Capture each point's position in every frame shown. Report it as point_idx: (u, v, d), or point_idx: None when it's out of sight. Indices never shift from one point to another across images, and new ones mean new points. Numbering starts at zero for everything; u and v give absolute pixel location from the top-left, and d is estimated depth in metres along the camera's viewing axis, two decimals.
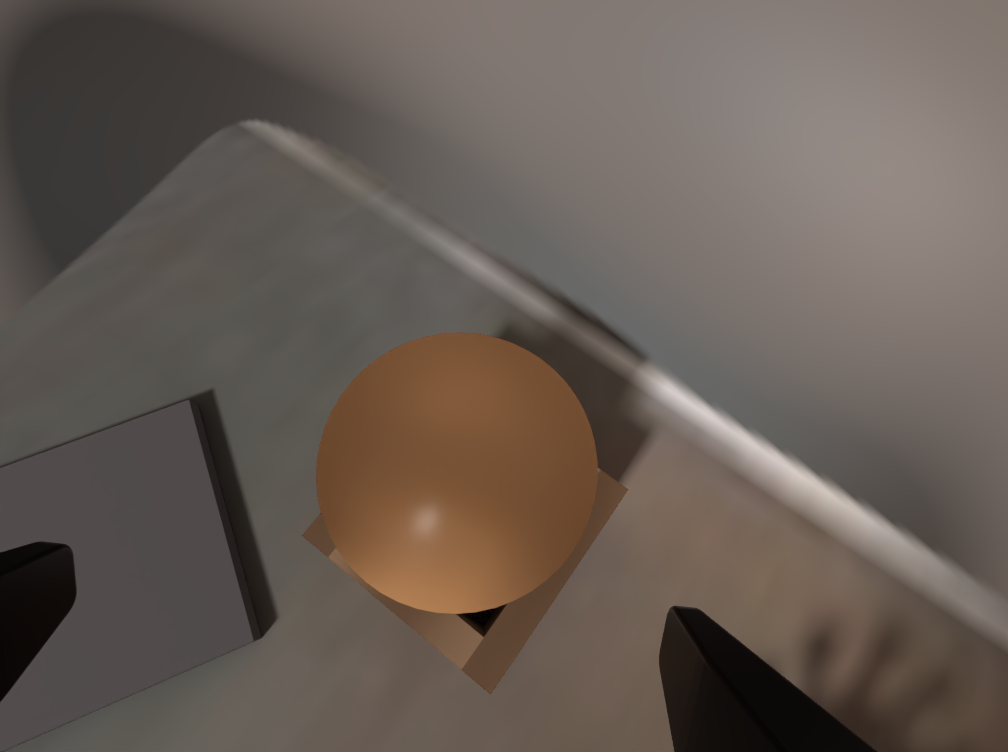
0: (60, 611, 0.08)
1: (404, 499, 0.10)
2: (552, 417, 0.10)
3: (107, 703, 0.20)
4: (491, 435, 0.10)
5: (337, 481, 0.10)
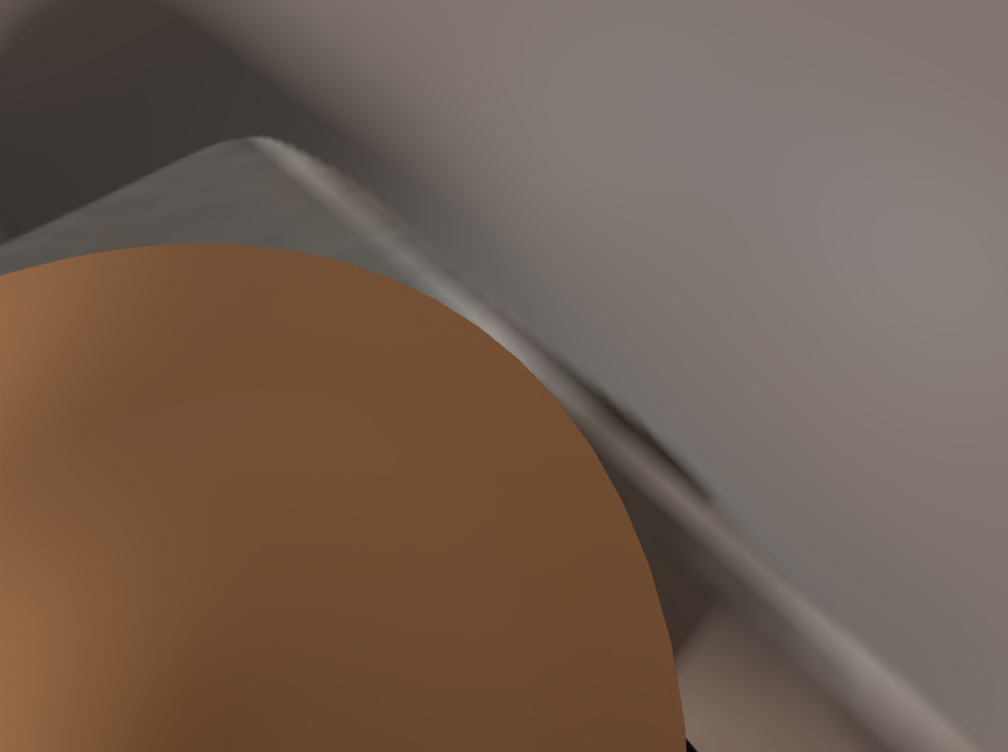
0: None
1: None
2: (522, 573, 0.03)
3: None
4: (261, 604, 0.03)
5: None
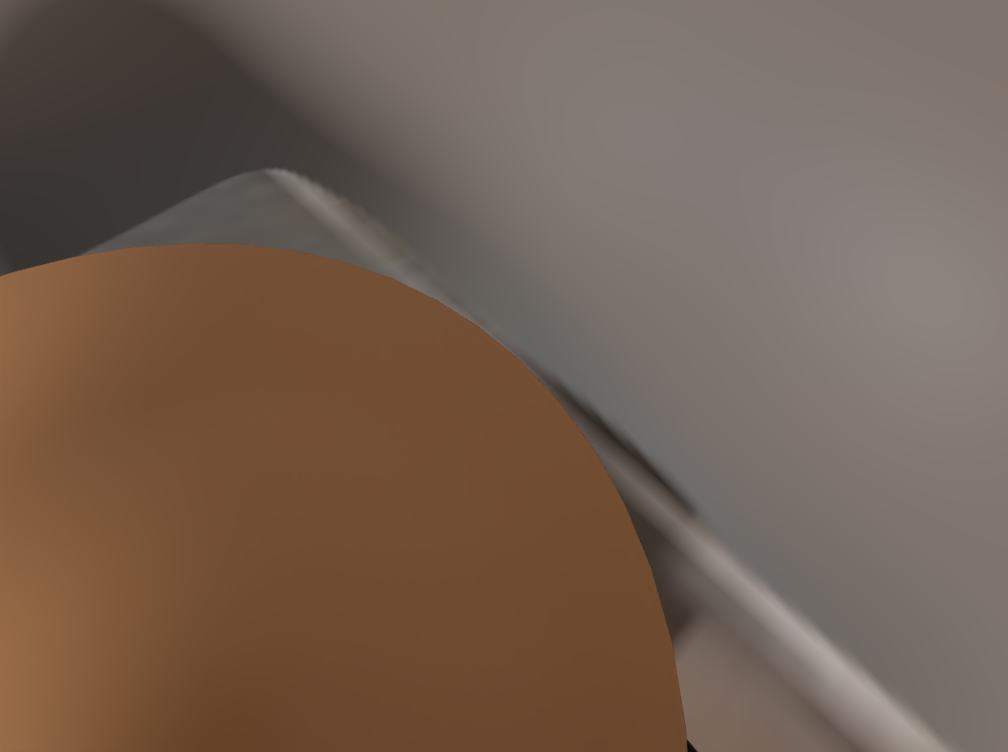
0: None
1: None
2: (523, 572, 0.03)
3: None
4: (262, 604, 0.03)
5: None
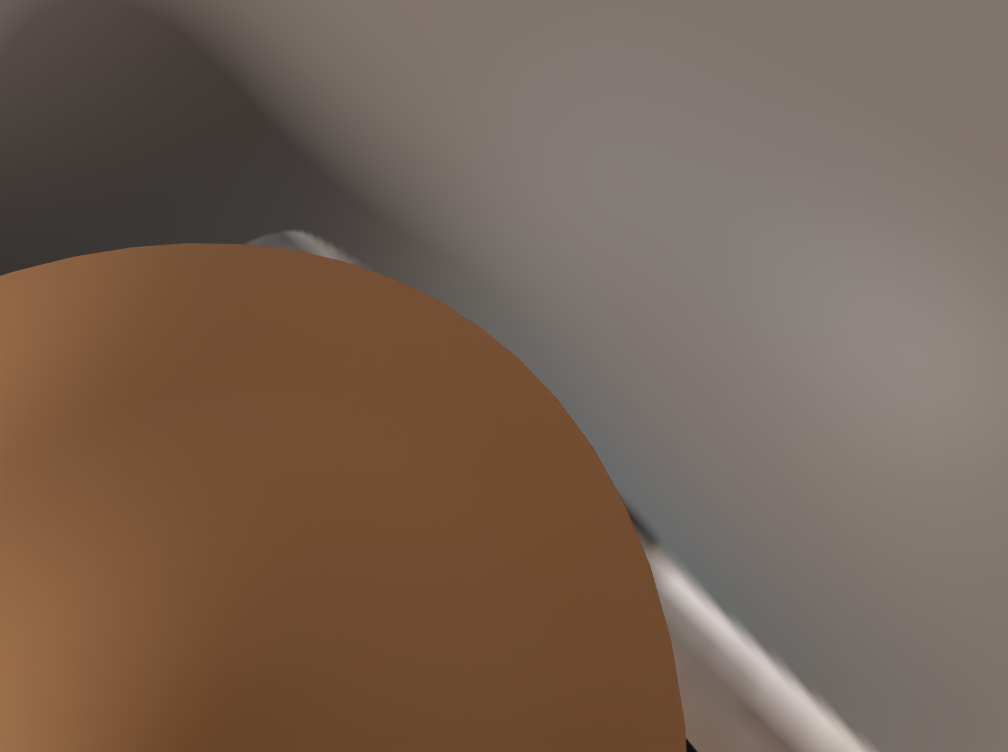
0: None
1: None
2: (522, 572, 0.03)
3: None
4: (262, 603, 0.03)
5: None
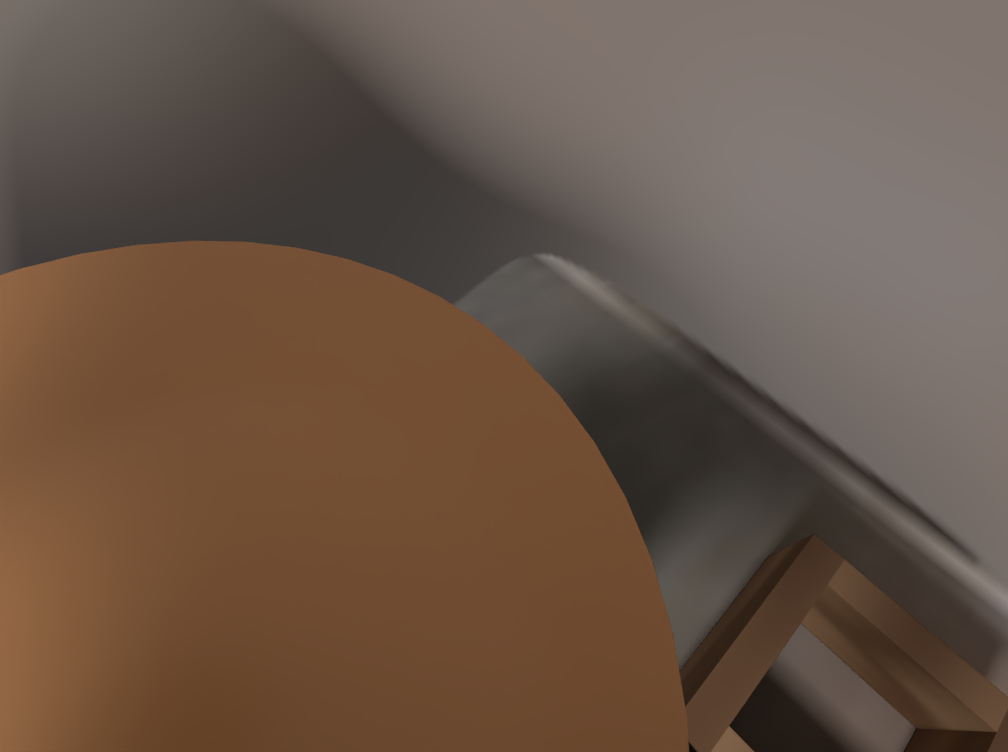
0: None
1: None
2: (525, 566, 0.03)
3: None
4: (268, 596, 0.03)
5: None
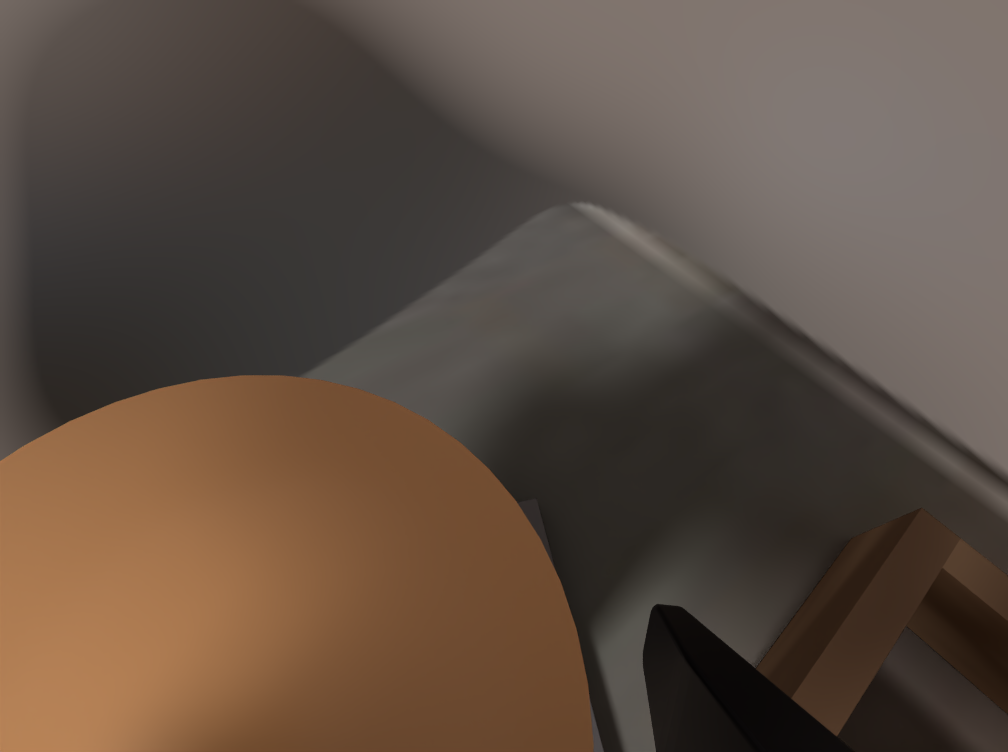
0: None
1: None
2: (487, 634, 0.04)
3: None
4: (308, 658, 0.04)
5: None
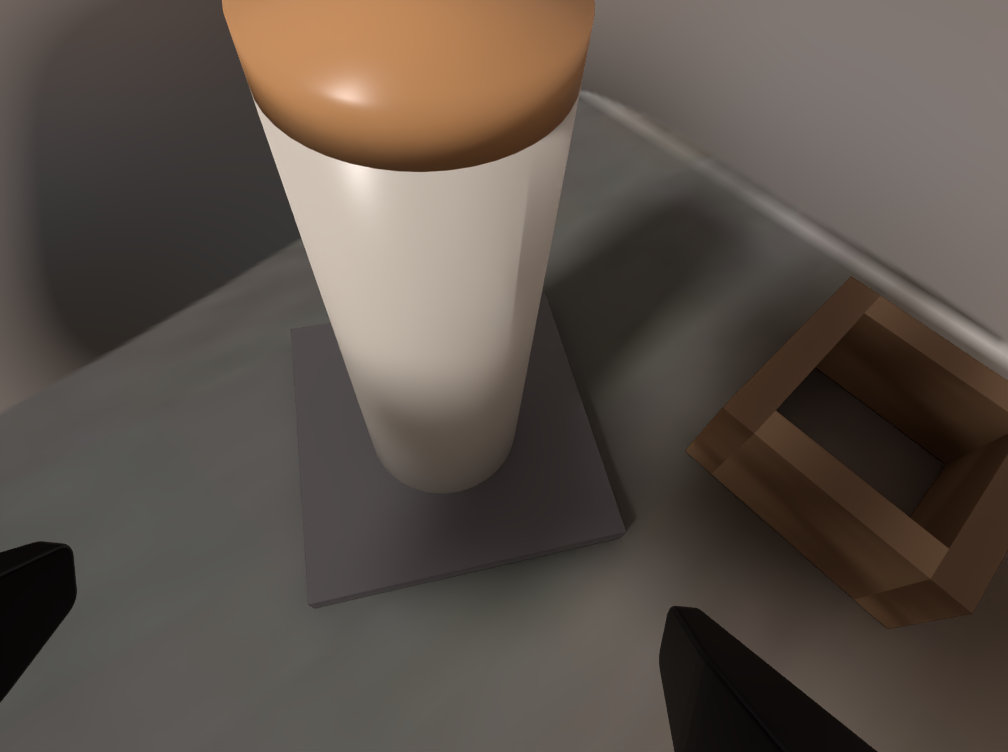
0: (60, 611, 0.08)
1: (332, 2, 0.07)
2: None
3: (467, 566, 0.17)
4: None
5: None
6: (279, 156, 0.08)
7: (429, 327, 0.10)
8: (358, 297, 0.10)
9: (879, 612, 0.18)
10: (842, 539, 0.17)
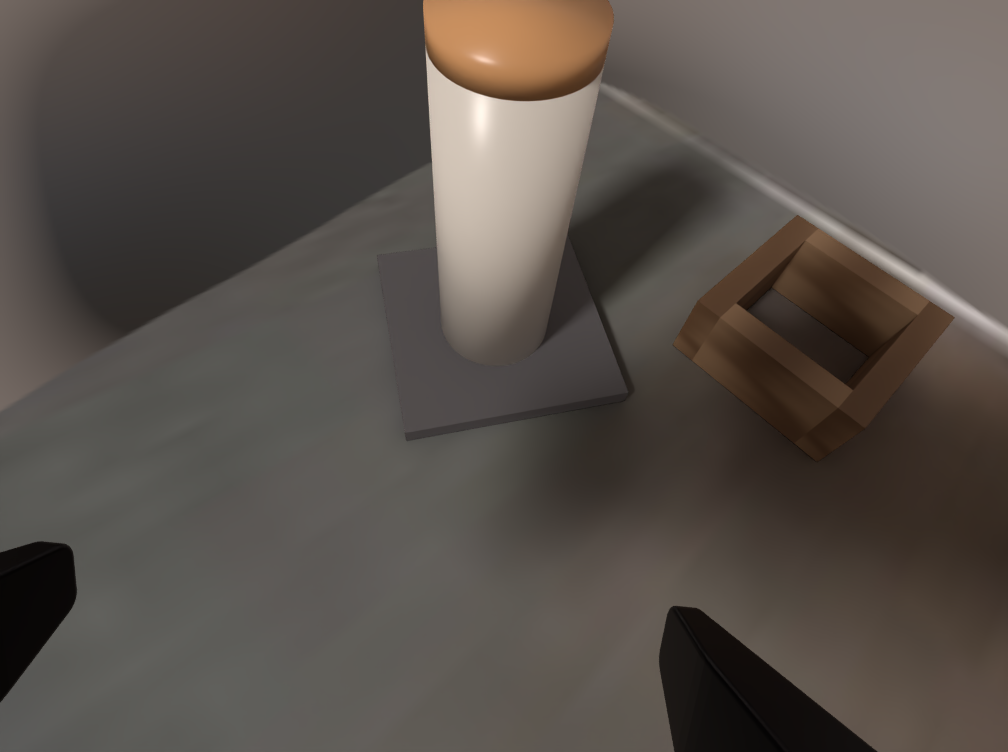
0: (60, 611, 0.08)
1: (479, 14, 0.15)
2: (586, 1, 0.15)
3: (515, 411, 0.25)
4: (543, 1, 0.15)
5: (437, 1, 0.15)
6: (442, 97, 0.15)
7: (512, 206, 0.18)
8: (472, 186, 0.17)
9: (810, 449, 0.25)
10: (782, 392, 0.24)
